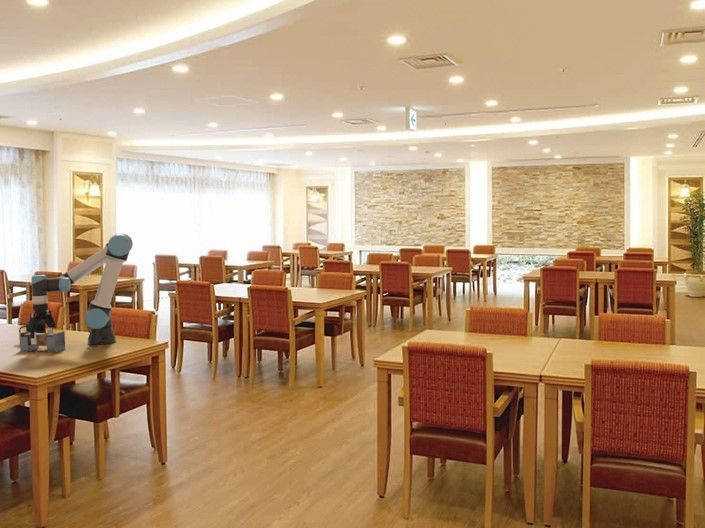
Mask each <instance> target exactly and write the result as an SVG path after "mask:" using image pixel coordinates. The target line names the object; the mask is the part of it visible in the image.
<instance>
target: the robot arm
mask: <svg viewBox="0 0 705 528" xmlns="http://www.w3.org/2000/svg"><path fill="white" fill-rule="evenodd" d="M133 245H134V244H133V240H132V238H131V237H130V236H129V235H128V234H125V233H116V234H114V235H113V236H111V237H110V238H109V240H108V242H107V243H106V244H105V246H104V247H103V248H101V249H100V250H98V251H97V252H95V253H94V254H92V255H91V256H89V257H88V258H86V259H84V260H83V261H82V262H80V263H78V264H77V265H75V266H74V267H72V268H70V269H69V270H68V271H66V272H64V273H63V274H62V275H60V276H58V277H52V278H48V277H47V275H46V274H35V275H32V276H31V284H30V285H31V296H32V297H31V298H32V311H34V313H30V315H29V317H30V318H29V325H28V329H27V332H30V336H31V344H37V341H36V332H35V330H36V328H37V325H38V323H39V322H40V321H41V320H44V321H45V325H47V329H46V330H47V333H54V328H55V327H56V325H57V324H56V321H55V319H54V317H53V315H52V311H51V310H49V304H48V302H49V301H48V293H56V292H59V293H60V292H70V290H71V286H72V285H74V284H75V283H77V282H78V281H80V280H81V279H83V278H84V277H86V276H88V275H89V274H90V273H92V272H93V271H96V270H97V269H98V268H100V267H102V266H103V265H104V264H105V265H104V268H103V272H102V275H101V277H100V281H99V283H98V287H97V290H96V293H95V297H94V299H93V300H91V301H90V303H89V306H88V309H87V312H86V313H85V315H84V323H85V324H86V325H87V326H88V327H89V328H90V331H89V334H88V338H87V344H88V345H94V346H95V345H107V344H112V343H116V342H117V338H116V335H115V332H114V329H113V325H112V324H113V321H112V320H113V319H112V318H113V317H112V309H113V308H112V304H111V303H112V299H113V296H114V292H115V289H116V286H117V283H118V279H119V277H120V273H121V270H122V268H123V264H124V263H126V262H127V260H128V257H129V255H130V251H131V250H132V249H133Z"/></svg>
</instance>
